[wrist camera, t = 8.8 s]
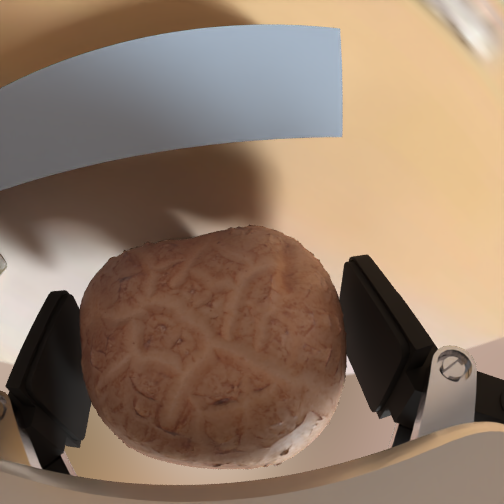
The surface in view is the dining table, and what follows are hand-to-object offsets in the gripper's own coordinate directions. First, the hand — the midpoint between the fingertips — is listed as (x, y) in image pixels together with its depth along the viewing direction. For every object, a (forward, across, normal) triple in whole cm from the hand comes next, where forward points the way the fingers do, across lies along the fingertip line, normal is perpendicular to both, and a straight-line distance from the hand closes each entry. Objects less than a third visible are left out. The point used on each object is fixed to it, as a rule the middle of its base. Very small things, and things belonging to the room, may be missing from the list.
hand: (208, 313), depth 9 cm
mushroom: (+4, 0, 0) cm, 4 cm away
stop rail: (+3, +3, -6) cm, 8 cm away
